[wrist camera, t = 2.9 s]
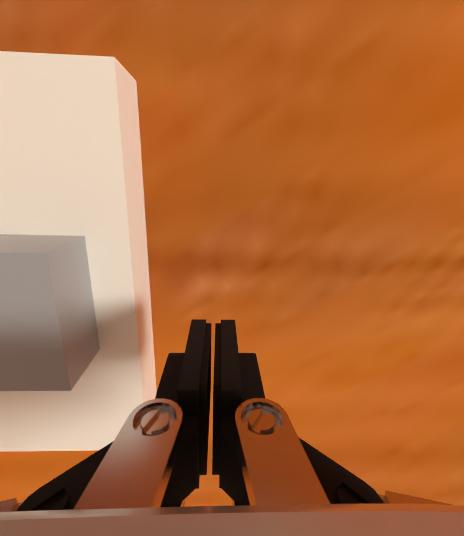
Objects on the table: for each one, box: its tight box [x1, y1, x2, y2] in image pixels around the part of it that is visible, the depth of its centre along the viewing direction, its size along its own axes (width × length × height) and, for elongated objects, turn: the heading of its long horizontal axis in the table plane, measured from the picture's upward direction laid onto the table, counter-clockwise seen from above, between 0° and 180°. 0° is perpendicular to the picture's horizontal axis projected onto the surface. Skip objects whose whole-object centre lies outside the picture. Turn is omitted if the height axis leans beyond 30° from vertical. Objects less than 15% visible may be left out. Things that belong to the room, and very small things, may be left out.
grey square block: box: [0, 234, 100, 391], centre depth 12 cm, size 6×6×3 cm
